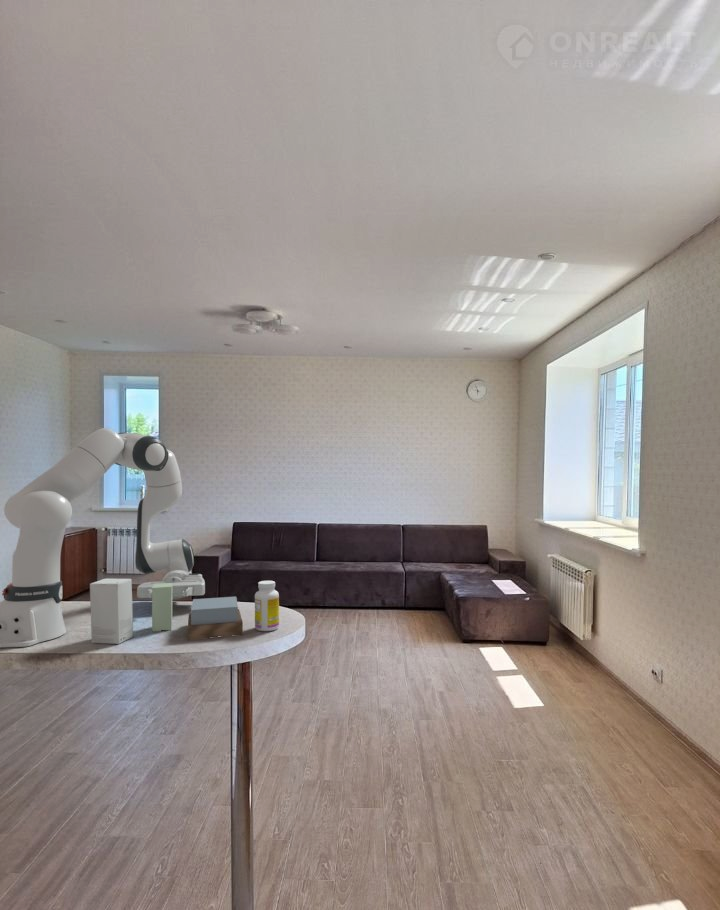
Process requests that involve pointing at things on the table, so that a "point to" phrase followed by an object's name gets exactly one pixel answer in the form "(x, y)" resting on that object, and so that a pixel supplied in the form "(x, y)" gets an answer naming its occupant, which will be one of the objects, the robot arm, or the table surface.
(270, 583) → the supplement bottle
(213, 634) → the tower bottom block
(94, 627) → the skincare box
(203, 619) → the tower top block
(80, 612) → the table surface
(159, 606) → the sage block
